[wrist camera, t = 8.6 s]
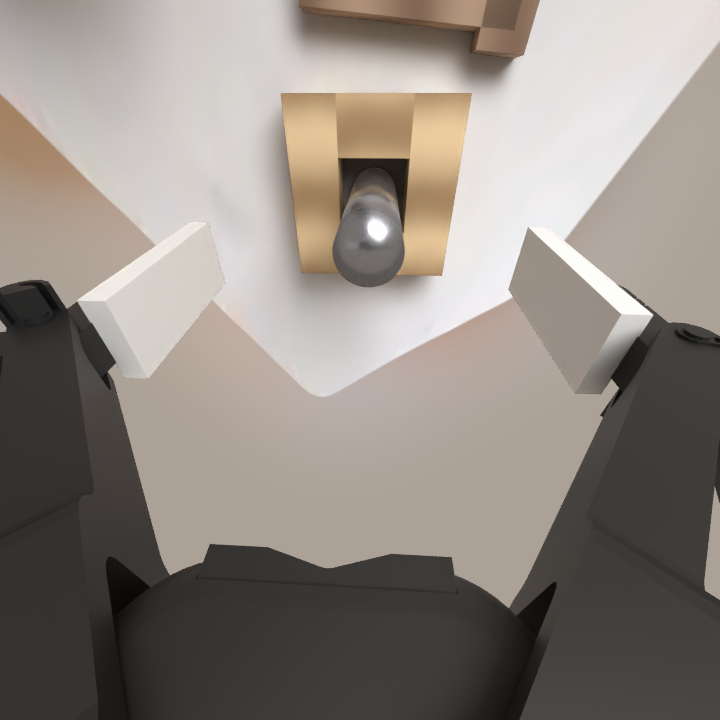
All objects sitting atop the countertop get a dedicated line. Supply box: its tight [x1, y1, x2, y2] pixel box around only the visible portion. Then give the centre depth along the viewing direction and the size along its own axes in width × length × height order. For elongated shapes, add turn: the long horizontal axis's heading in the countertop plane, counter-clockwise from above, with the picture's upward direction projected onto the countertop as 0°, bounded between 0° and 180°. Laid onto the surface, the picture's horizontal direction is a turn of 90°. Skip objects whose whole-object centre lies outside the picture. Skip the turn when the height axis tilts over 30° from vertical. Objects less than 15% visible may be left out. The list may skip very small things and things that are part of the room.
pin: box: [332, 168, 405, 287], centre depth 22 cm, size 4×4×14 cm
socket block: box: [281, 93, 472, 276], centre depth 26 cm, size 12×12×4 cm
